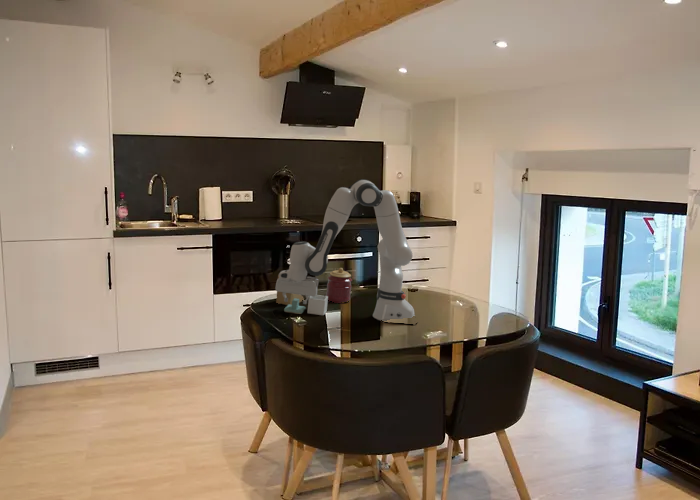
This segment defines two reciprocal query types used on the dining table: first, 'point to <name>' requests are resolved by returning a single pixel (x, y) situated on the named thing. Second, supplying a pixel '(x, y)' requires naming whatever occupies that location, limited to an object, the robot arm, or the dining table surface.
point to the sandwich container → (290, 297)
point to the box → (317, 304)
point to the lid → (295, 307)
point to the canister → (339, 286)
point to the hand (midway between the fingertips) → (295, 302)
